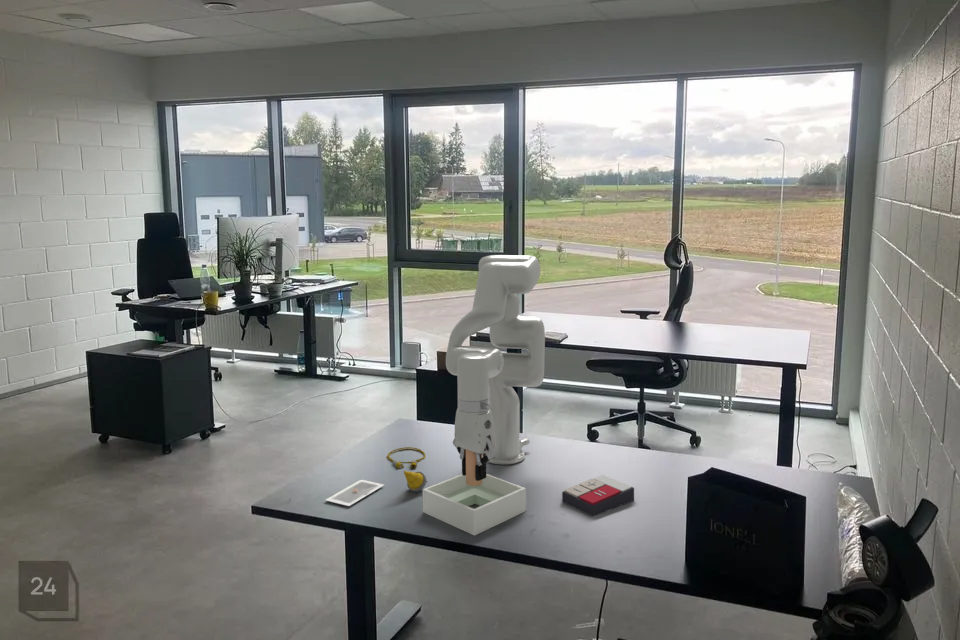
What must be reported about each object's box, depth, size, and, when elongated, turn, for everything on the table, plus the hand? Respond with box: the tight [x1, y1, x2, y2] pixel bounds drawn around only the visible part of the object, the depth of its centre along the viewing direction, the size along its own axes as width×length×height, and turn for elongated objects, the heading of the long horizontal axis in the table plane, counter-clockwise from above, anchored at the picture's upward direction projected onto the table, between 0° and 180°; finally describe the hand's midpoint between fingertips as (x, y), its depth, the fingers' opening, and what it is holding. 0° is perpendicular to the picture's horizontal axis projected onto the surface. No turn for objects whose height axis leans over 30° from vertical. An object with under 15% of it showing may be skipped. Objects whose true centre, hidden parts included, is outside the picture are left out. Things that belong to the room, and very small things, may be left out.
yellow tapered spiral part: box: [403, 470, 428, 493], centre depth 194 cm, size 5×5×10 cm
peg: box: [466, 449, 482, 486], centre depth 180 cm, size 4×4×9 cm
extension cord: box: [386, 446, 426, 470], centre depth 218 cm, size 12×16×2 cm
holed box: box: [422, 473, 527, 536], centre depth 181 cm, size 18×18×6 cm
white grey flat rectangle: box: [325, 479, 384, 507], centre depth 193 cm, size 8×15×2 cm, turn 151°
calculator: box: [561, 474, 635, 517], centre depth 187 cm, size 11×4×15 cm
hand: (474, 475), depth 180 cm, fingers closed on peg, 4 cm apart
